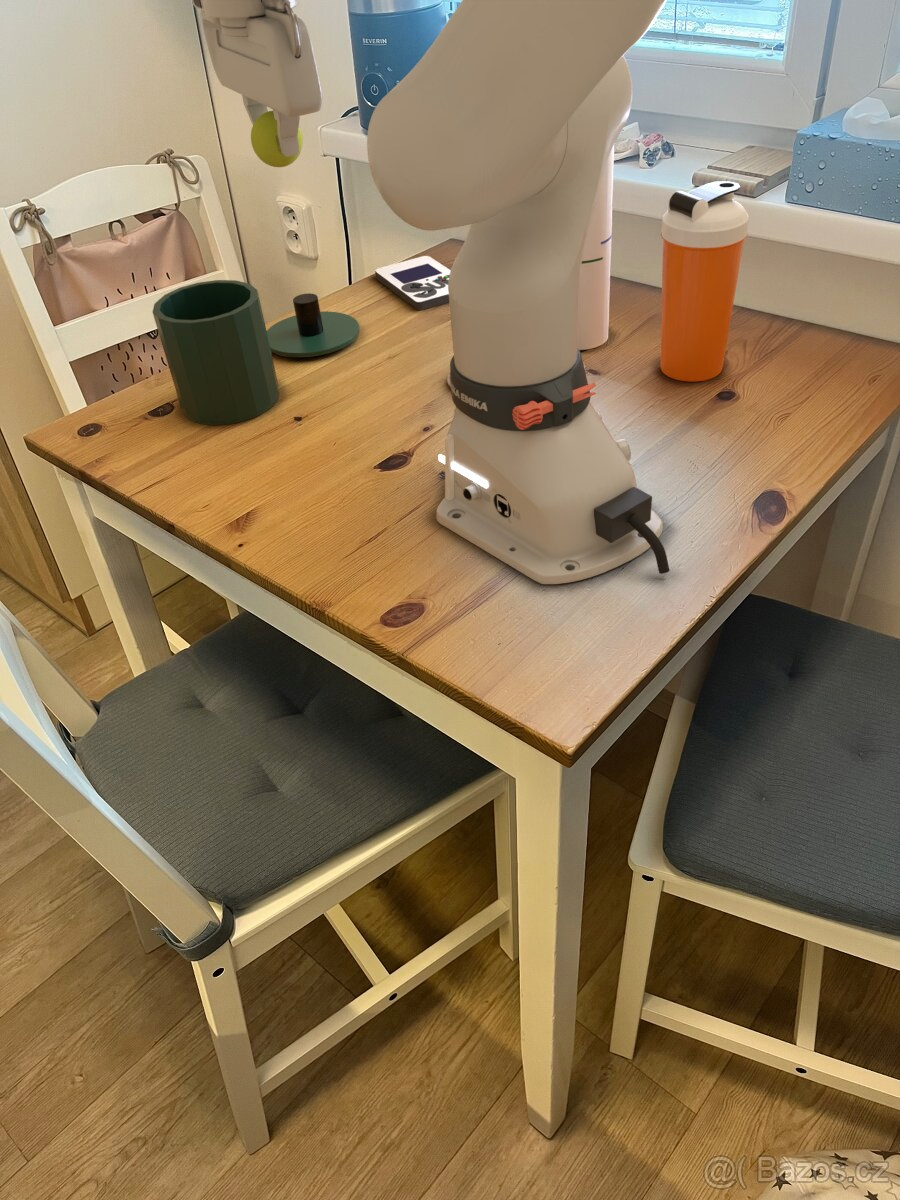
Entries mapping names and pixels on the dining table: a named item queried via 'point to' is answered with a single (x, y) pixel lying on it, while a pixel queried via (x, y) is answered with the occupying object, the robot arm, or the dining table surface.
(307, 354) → the canister lid
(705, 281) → the shaker bottle
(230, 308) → the canister
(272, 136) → the ball
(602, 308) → the cylindrical container
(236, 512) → the dining table surface
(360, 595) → the dining table surface
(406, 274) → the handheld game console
